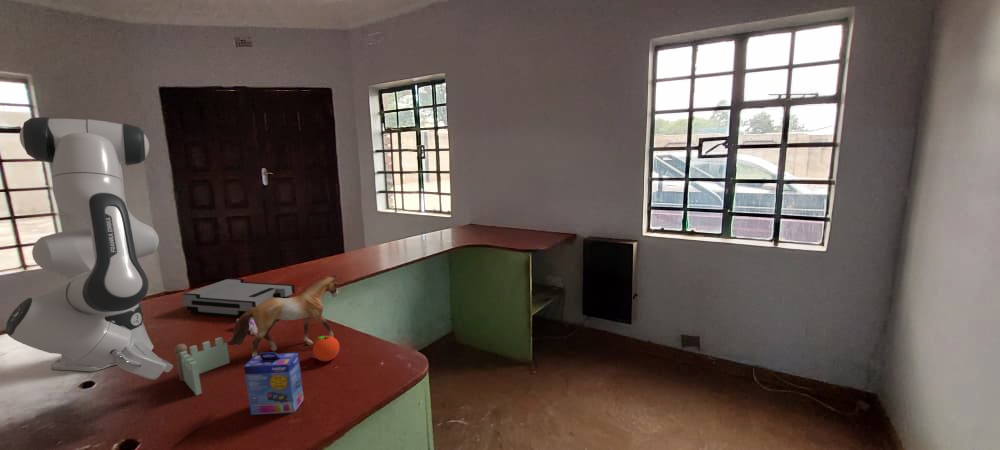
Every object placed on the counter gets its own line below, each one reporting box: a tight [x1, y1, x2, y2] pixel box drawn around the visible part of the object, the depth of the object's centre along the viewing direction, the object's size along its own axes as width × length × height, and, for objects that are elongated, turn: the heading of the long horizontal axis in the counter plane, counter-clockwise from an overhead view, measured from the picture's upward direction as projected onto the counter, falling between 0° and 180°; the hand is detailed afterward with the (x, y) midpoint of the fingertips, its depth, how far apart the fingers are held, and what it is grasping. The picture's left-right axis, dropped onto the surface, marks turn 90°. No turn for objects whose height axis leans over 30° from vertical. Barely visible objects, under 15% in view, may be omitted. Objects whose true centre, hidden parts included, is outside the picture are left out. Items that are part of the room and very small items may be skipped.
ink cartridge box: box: [243, 351, 305, 416], centre depth 90 cm, size 10×6×14 cm, turn 95°
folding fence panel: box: [180, 351, 203, 396], centre depth 98 cm, size 10×1×8 cm, turn 51°
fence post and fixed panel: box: [173, 336, 230, 382], centre depth 106 cm, size 11×3×10 cm, turn 144°
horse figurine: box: [227, 274, 340, 358], centre depth 117 cm, size 31×8×21 cm, turn 123°
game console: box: [181, 277, 296, 319], centre depth 156 cm, size 21×32×8 cm, turn 76°
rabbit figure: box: [236, 316, 258, 336], centre depth 133 cm, size 6×6×15 cm
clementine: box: [312, 335, 341, 362], centre depth 113 cm, size 8×7×7 cm
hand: (169, 367), depth 96 cm, fingers closed
